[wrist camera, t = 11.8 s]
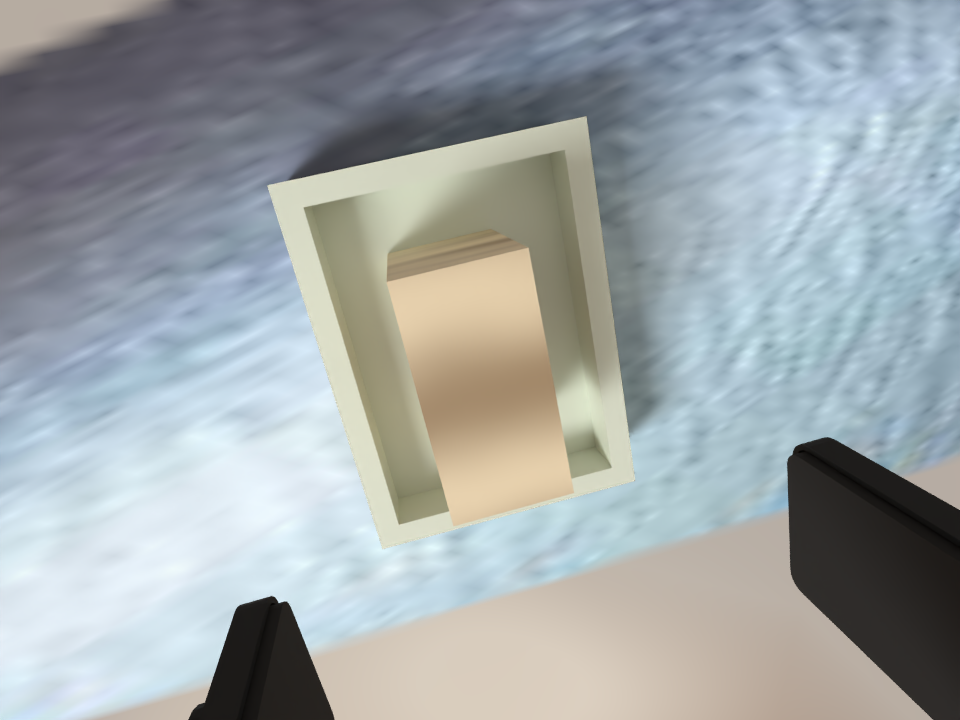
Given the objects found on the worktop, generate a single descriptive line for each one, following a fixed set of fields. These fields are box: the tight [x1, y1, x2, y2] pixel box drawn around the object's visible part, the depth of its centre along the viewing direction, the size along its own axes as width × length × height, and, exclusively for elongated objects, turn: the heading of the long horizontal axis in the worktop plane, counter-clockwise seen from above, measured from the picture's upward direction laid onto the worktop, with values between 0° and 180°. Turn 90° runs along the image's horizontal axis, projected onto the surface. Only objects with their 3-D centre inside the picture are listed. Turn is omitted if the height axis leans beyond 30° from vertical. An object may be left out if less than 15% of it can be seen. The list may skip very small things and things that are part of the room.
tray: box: [267, 116, 635, 549], centre depth 25 cm, size 12×16×3 cm
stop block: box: [387, 229, 574, 526], centre depth 22 cm, size 9×4×7 cm, turn 13°
